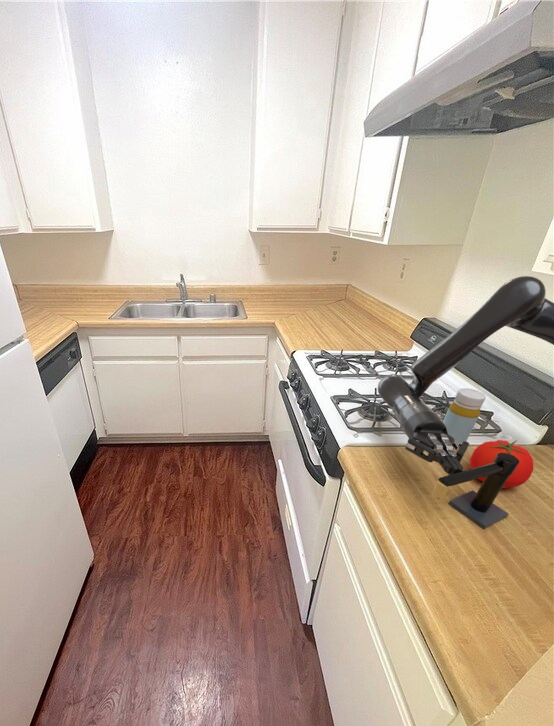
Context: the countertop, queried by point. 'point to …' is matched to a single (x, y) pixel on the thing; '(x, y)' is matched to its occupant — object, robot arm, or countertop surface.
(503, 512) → the faucet base
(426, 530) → the countertop surface
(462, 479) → the spout
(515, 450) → the tomato
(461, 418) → the bottle
